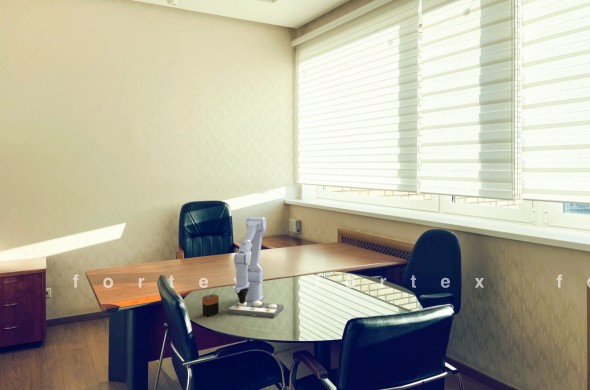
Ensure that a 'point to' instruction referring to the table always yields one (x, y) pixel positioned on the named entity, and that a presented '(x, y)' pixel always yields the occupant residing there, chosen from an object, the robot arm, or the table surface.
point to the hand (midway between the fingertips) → (242, 303)
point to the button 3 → (272, 306)
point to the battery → (210, 305)
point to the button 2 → (257, 304)
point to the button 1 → (242, 304)
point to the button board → (255, 310)
